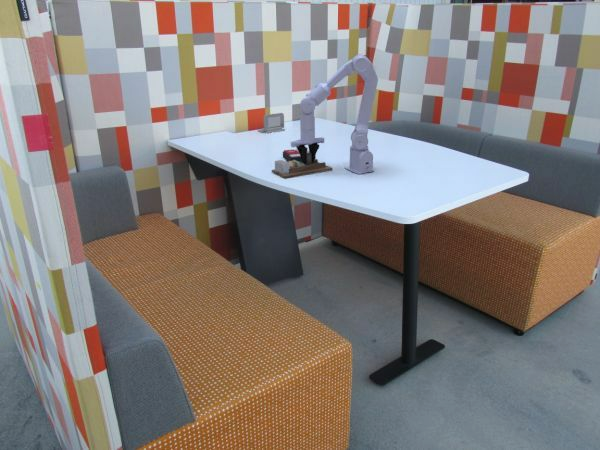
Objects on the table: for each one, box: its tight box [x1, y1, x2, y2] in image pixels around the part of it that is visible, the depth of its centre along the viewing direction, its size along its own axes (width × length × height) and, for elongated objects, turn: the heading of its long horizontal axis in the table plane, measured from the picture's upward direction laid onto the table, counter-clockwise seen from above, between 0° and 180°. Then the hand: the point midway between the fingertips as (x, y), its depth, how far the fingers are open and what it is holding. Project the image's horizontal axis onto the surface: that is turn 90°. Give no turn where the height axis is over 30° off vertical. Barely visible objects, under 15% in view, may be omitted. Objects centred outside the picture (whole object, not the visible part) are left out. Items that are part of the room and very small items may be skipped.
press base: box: [271, 158, 333, 180], centre depth 203 cm, size 11×22×3 cm, turn 120°
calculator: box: [282, 148, 317, 162], centre depth 220 cm, size 11×4×15 cm
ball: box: [286, 161, 296, 168], centre depth 200 cm, size 4×4×4 cm
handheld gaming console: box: [257, 112, 286, 135], centre depth 279 cm, size 13×9×10 cm
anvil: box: [274, 159, 290, 175], centre depth 198 cm, size 7×3×4 cm, turn 30°
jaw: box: [292, 152, 312, 167], centre depth 202 cm, size 4×8×6 cm, turn 120°
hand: (307, 162), depth 204 cm, fingers closed on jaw, 3 cm apart
